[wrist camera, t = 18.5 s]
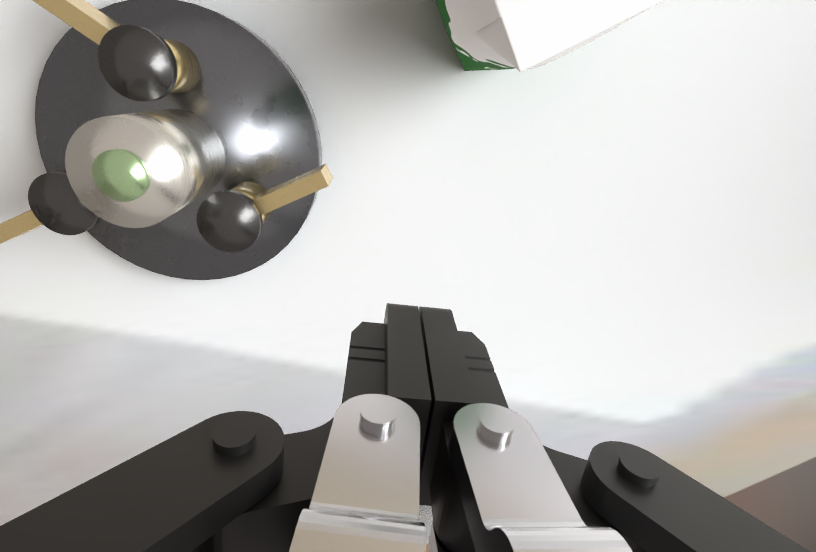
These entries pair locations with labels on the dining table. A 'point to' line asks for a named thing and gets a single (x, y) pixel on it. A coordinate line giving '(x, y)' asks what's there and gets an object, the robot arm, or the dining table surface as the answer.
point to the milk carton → (529, 28)
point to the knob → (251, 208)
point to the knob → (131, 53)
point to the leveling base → (220, 99)
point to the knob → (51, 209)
